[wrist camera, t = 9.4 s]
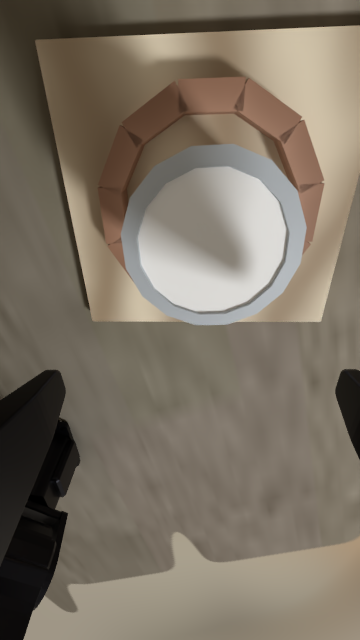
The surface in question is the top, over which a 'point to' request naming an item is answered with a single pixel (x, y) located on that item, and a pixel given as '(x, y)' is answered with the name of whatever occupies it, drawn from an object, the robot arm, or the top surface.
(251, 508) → the top surface
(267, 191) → the white cylinder
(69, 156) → the collar board
